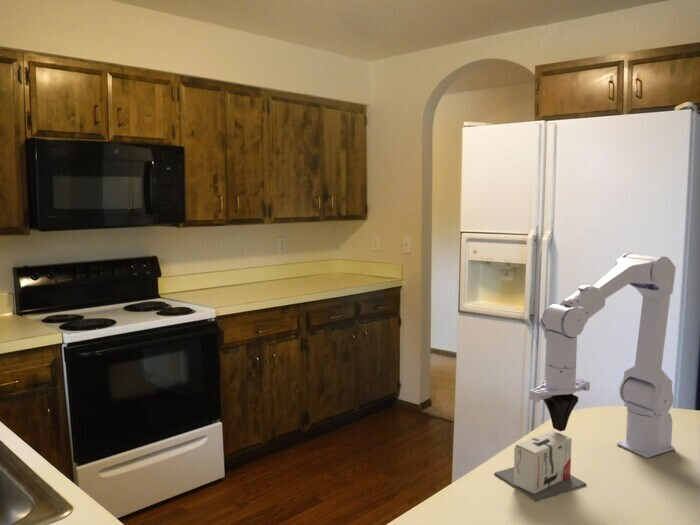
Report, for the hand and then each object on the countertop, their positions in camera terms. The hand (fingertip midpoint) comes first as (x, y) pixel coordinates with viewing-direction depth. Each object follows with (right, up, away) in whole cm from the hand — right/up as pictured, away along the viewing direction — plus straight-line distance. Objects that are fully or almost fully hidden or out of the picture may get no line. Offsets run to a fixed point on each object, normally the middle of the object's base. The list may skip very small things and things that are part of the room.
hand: (559, 429), depth 120 cm
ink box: (+1, -5, 0) cm, 5 cm away
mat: (-4, -10, -1) cm, 11 cm away
